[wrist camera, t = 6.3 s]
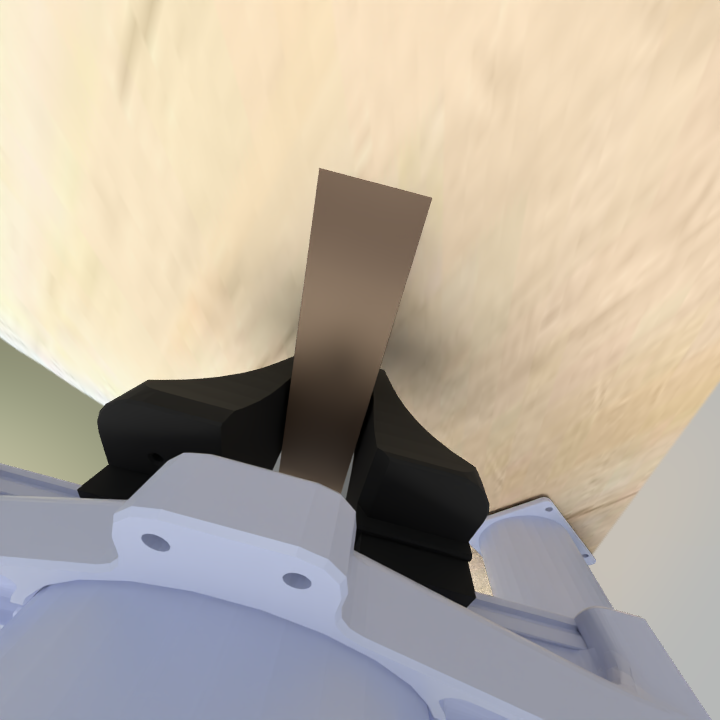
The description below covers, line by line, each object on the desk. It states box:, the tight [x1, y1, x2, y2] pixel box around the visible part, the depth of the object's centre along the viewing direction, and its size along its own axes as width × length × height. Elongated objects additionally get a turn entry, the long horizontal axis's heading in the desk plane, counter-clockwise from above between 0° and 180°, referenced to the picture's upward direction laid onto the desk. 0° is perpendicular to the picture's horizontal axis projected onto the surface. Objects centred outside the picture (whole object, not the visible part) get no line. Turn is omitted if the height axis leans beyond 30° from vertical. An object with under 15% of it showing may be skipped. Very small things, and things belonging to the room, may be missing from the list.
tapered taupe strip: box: [279, 168, 432, 494], centre depth 11 cm, size 14×2×6 cm, turn 167°
